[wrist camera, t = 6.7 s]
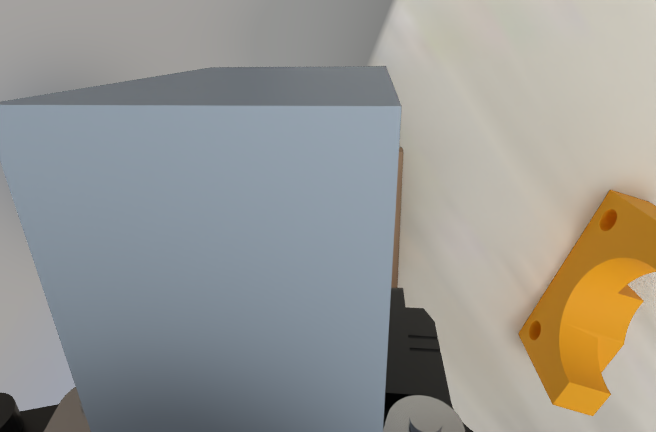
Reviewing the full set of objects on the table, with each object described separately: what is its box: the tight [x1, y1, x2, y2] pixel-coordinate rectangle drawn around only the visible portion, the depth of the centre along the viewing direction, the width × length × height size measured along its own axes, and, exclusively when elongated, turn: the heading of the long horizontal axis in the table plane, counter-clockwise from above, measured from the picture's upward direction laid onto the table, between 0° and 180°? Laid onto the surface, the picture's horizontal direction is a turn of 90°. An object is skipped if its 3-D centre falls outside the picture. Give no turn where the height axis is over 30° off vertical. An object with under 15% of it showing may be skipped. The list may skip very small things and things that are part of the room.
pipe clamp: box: [519, 190, 656, 416], centre depth 25 cm, size 12×4×6 cm, turn 164°
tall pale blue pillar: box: [0, 66, 401, 432], centre depth 9 cm, size 4×13×6 cm, turn 1°
